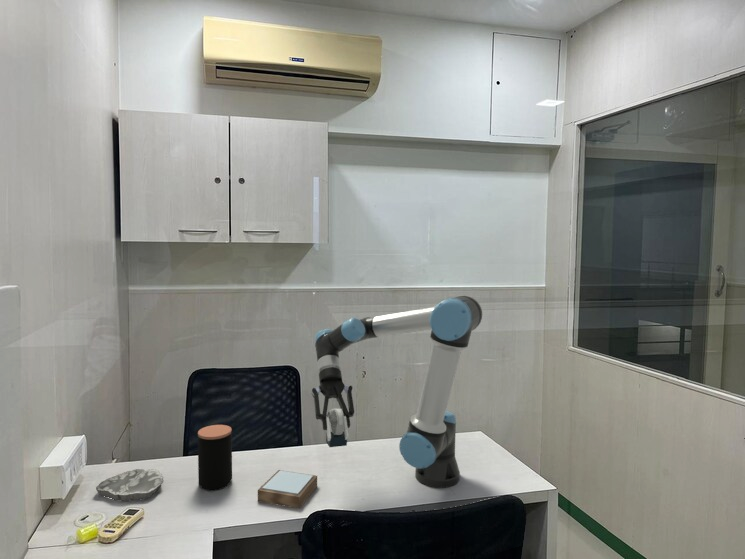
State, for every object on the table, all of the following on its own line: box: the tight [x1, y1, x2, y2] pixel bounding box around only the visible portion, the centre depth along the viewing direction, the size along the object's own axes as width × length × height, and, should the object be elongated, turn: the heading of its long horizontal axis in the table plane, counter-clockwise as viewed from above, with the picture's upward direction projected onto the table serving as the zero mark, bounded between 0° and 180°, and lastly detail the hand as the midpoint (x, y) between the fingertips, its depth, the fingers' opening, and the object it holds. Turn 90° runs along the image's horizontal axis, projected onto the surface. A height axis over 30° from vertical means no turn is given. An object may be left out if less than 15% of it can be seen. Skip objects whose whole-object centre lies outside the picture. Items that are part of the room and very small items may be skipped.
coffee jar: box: [197, 424, 233, 491], centre depth 158 cm, size 11×11×18 cm
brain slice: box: [95, 468, 165, 502], centre depth 155 cm, size 20×17×3 cm
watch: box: [325, 407, 348, 448], centre depth 150 cm, size 6×8×11 cm
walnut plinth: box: [257, 469, 318, 509], centre depth 153 cm, size 14×14×4 cm
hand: (338, 438), depth 147 cm, fingers closed on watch, 5 cm apart
